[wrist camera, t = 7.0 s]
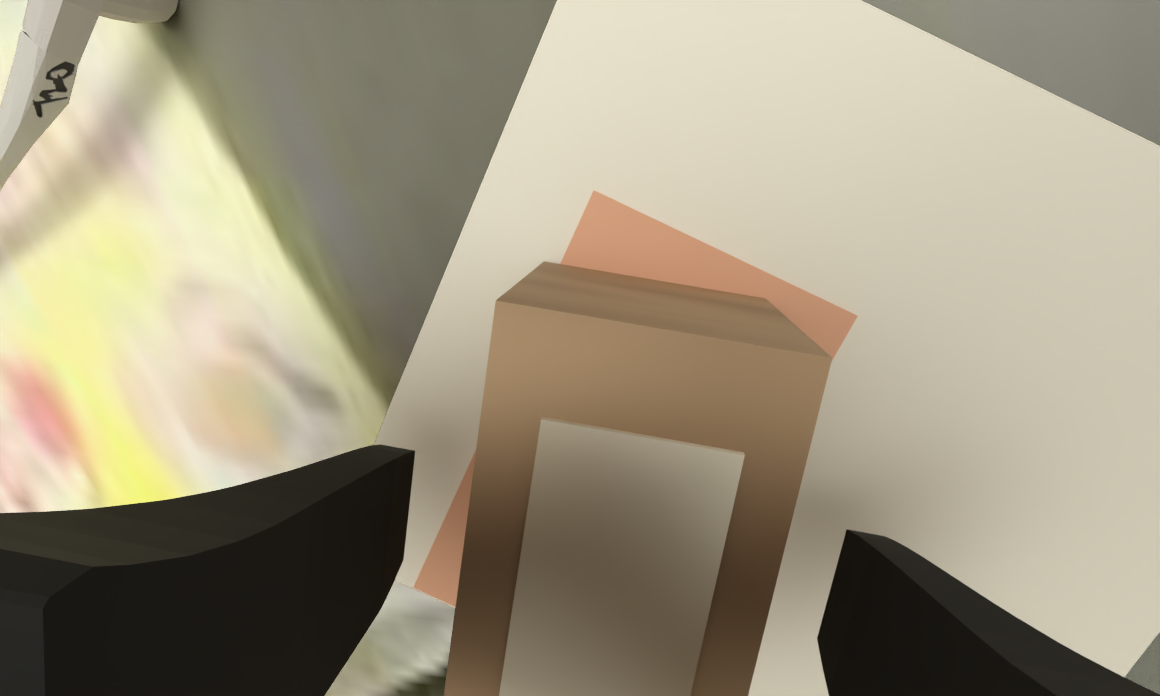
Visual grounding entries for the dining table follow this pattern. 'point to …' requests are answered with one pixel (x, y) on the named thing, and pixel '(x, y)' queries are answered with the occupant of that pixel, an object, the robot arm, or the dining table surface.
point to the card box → (630, 487)
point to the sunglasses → (55, 65)
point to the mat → (845, 295)
